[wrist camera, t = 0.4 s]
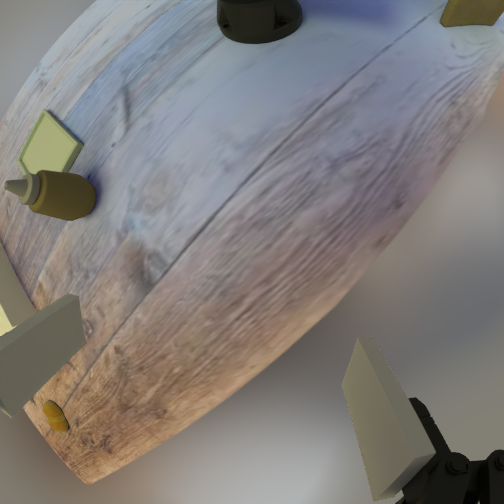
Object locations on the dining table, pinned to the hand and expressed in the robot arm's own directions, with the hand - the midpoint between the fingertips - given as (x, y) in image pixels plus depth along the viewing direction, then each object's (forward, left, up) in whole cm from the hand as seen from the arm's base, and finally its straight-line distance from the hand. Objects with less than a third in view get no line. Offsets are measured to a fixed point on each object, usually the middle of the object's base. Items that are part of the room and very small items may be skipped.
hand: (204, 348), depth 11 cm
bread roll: (+46, -48, -25) cm, 71 cm away
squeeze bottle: (-8, -35, -25) cm, 44 cm away
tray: (-18, -53, -25) cm, 61 cm away
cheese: (-61, +36, -25) cm, 76 cm away
